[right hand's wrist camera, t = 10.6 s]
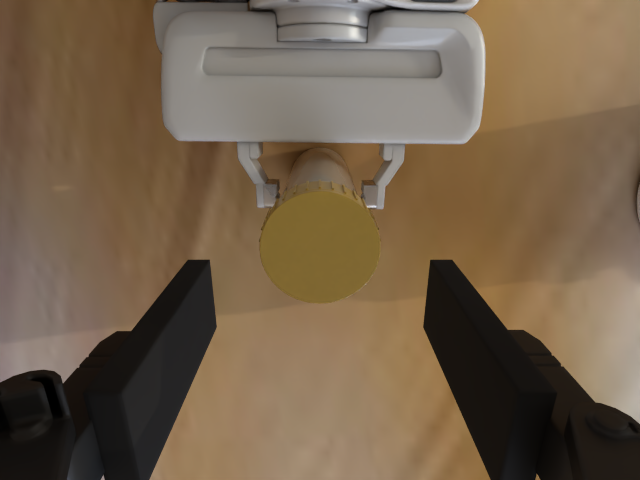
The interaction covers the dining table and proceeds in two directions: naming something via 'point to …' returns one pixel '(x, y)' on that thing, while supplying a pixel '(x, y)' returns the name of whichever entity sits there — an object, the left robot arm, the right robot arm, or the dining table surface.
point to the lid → (320, 242)
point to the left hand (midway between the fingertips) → (320, 206)
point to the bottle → (320, 169)
